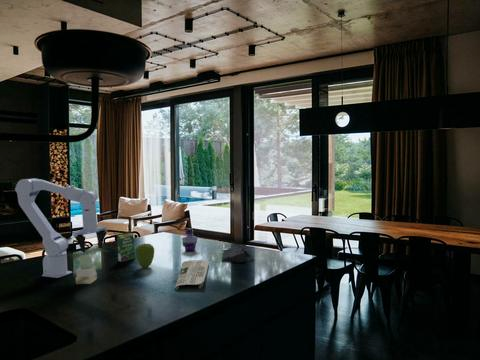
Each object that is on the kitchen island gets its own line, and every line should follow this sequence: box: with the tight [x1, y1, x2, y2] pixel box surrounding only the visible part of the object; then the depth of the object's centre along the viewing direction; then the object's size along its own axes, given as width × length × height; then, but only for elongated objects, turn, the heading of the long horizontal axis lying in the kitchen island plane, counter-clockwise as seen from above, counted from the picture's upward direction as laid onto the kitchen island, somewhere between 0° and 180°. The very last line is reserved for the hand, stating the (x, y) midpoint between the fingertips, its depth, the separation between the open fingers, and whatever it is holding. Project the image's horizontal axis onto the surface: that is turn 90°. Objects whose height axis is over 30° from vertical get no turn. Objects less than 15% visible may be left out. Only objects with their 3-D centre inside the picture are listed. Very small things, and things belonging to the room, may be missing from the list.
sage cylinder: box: [79, 253, 93, 269], centre depth 149 cm, size 4×4×5 cm
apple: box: [135, 243, 155, 269], centre depth 166 cm, size 9×8×12 cm
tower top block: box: [76, 264, 97, 277], centre depth 149 cm, size 6×6×3 cm
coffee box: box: [116, 232, 136, 263], centre depth 180 cm, size 8×3×13 cm, turn 137°
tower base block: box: [75, 272, 98, 285], centre depth 149 cm, size 6×6×3 cm
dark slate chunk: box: [221, 245, 254, 264], centre depth 182 cm, size 15×22×5 cm
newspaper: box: [174, 259, 210, 290], centre depth 153 cm, size 35×12×4 cm, turn 4°
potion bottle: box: [181, 227, 198, 253], centre depth 196 cm, size 9×9×12 cm
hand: (91, 249), depth 160 cm, fingers open, 7 cm apart
